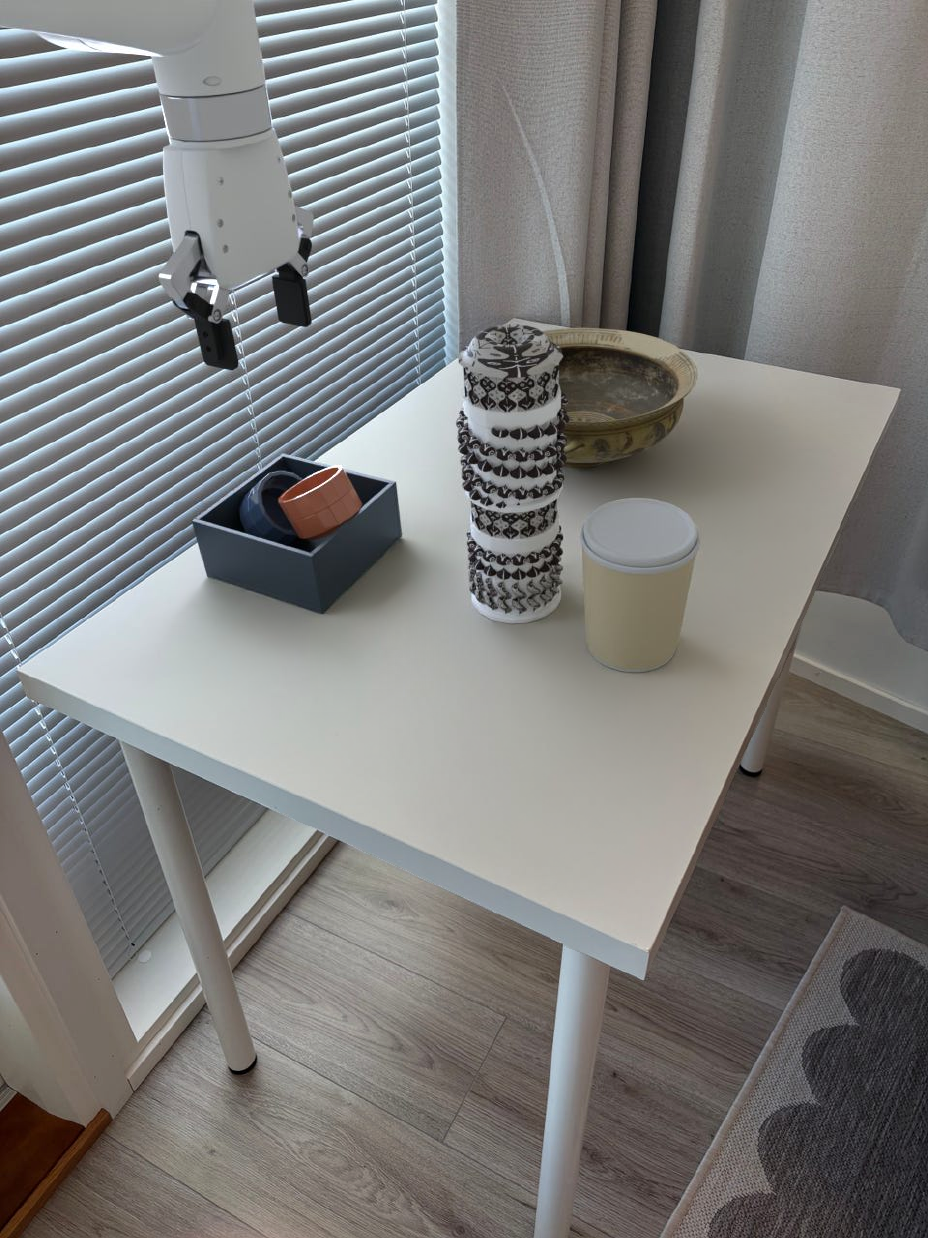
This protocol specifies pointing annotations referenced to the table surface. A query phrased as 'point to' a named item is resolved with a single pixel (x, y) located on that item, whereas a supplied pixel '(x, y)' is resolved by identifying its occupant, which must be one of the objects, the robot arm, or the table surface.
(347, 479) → the terracotta flower pot
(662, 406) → the ceramic bowl
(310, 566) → the tub
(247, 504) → the faceted blue pot
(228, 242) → the robot arm
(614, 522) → the coffee cup
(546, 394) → the decorative candle
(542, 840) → the table surface
